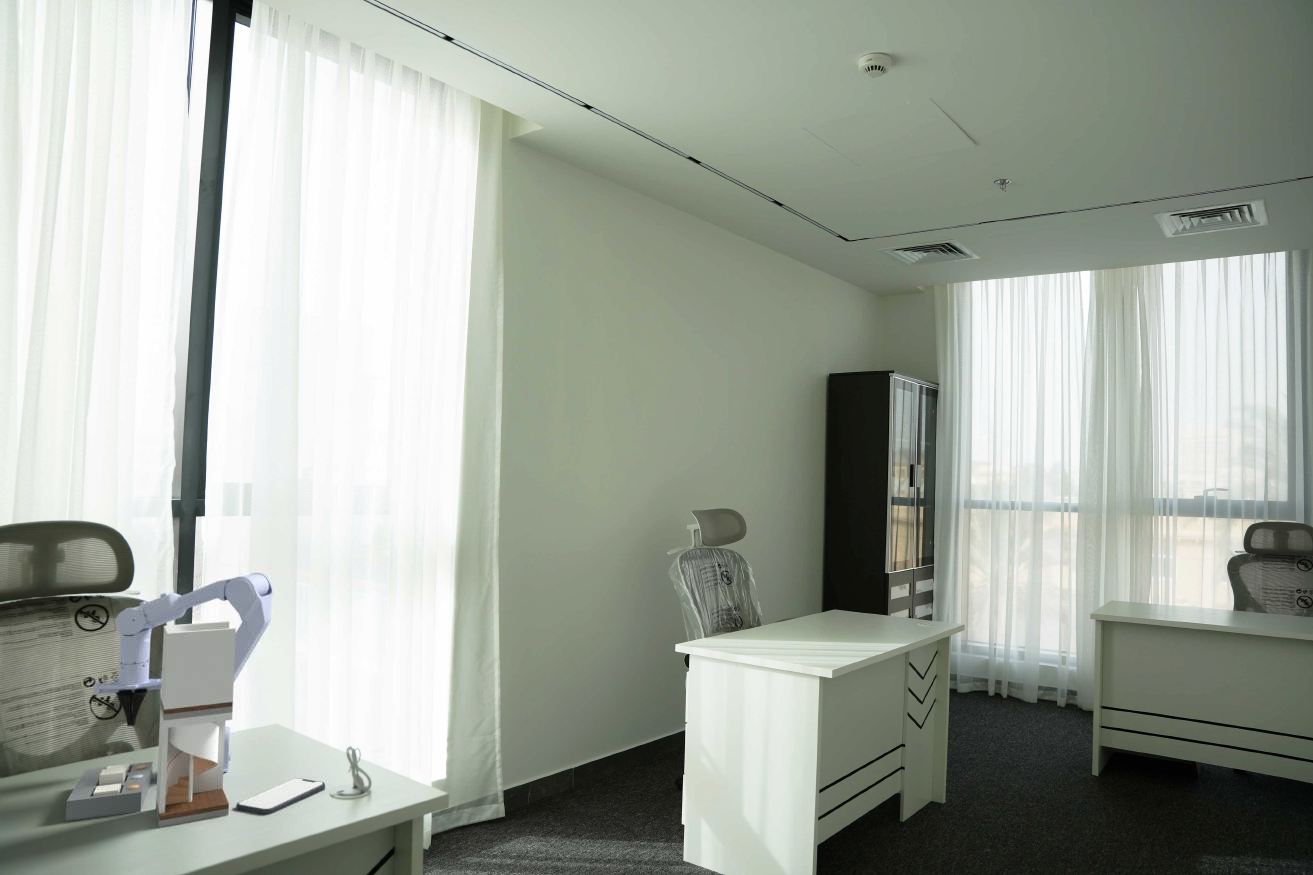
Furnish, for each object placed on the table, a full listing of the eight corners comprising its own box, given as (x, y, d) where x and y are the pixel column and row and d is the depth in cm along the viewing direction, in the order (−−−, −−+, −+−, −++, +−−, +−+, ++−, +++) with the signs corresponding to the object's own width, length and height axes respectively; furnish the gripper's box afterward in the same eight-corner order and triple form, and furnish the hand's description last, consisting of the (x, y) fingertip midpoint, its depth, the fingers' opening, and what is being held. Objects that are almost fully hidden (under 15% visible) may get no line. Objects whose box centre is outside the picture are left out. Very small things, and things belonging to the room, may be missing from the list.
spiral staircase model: (159, 827, 156) (167, 633, 158) (155, 808, 165) (164, 625, 167) (228, 814, 162) (235, 628, 164) (221, 797, 171) (228, 621, 173)
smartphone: (267, 819, 162) (328, 790, 177) (267, 810, 162) (328, 782, 177) (232, 812, 165) (294, 784, 180) (232, 804, 165) (295, 776, 180)
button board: (151, 778, 181) (152, 760, 182) (140, 811, 163) (141, 790, 163) (84, 786, 176) (85, 767, 176) (65, 820, 158) (66, 800, 158)
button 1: (120, 798, 167) (121, 783, 167) (117, 805, 163) (118, 789, 163) (96, 801, 165) (97, 786, 165) (92, 808, 161) (93, 792, 161)
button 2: (129, 778, 178) (129, 763, 178) (126, 784, 175) (127, 769, 175) (106, 780, 177) (107, 766, 177) (103, 787, 173) (104, 772, 173)
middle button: (125, 781, 173) (126, 766, 173) (122, 787, 169) (123, 772, 169) (102, 784, 171) (102, 769, 171) (98, 790, 167) (99, 775, 167)
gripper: (92, 667, 181) (89, 732, 180) (170, 662, 187) (167, 725, 186) (97, 661, 187) (94, 724, 187) (173, 656, 194) (170, 717, 193)
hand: (131, 724), depth 187 cm, fingers closed
